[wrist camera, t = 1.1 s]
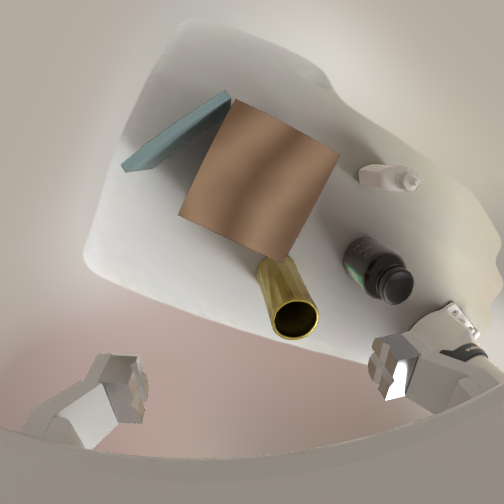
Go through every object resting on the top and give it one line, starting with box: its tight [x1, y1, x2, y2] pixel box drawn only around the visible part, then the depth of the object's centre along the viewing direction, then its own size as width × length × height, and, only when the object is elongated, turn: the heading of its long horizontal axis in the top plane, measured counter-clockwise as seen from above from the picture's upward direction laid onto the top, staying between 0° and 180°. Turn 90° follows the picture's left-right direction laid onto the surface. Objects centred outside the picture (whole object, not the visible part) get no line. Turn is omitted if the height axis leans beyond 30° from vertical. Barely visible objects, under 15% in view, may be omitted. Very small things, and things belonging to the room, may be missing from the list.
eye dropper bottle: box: [358, 164, 420, 192], centre depth 36 cm, size 4×6×12 cm
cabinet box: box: [178, 99, 340, 264], centre depth 35 cm, size 12×13×12 cm
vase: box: [257, 256, 319, 340], centre depth 39 cm, size 6×6×14 cm
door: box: [121, 90, 231, 172], centre depth 33 cm, size 2×13×11 cm, turn 123°
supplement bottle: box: [344, 238, 414, 305], centre depth 40 cm, size 7×7×12 cm
